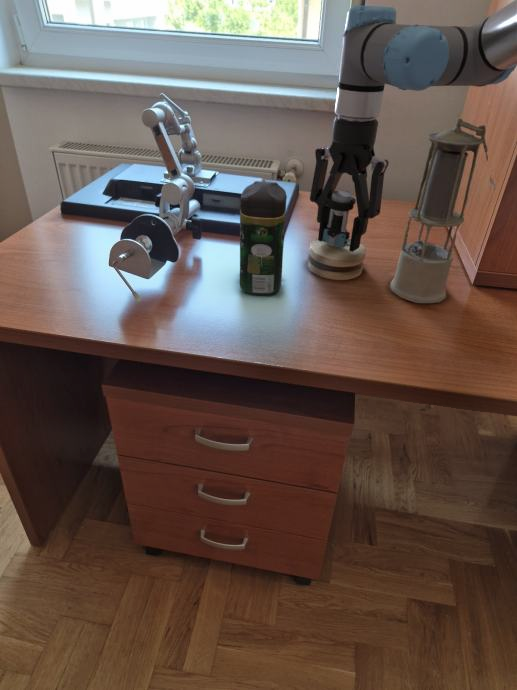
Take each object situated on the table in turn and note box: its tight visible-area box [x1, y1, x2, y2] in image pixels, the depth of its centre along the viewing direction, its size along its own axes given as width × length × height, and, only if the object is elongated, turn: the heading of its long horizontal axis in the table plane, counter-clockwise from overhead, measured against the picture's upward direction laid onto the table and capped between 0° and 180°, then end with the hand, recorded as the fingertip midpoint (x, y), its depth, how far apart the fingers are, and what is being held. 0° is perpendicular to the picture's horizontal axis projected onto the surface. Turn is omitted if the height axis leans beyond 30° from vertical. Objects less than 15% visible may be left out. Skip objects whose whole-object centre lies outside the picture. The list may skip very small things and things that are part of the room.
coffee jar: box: [239, 180, 288, 296], centre depth 85 cm, size 10×8×19 cm
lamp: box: [389, 118, 496, 304], centre depth 82 cm, size 10×13×30 cm
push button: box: [323, 190, 357, 248], centre depth 91 cm, size 7×5×10 cm
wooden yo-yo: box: [307, 238, 367, 281], centre depth 96 cm, size 12×12×4 cm
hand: (338, 243), depth 94 cm, fingers closed on push button, 6 cm apart
